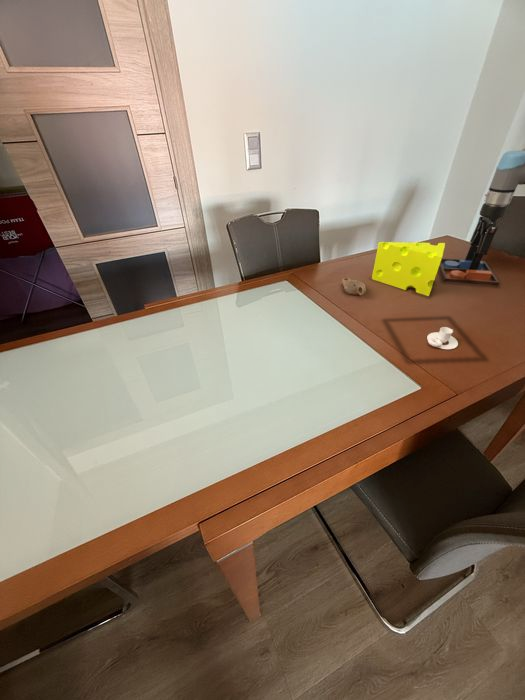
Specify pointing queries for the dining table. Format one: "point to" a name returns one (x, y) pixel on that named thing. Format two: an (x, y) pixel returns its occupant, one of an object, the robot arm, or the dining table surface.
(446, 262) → the blue spoon
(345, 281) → the oil lamp
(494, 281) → the cutlery tray
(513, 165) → the robot arm
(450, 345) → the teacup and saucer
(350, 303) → the dining table surface
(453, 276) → the terracotta spoon
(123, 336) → the dining table surface
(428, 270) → the cheese wedge
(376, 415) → the dining table surface
